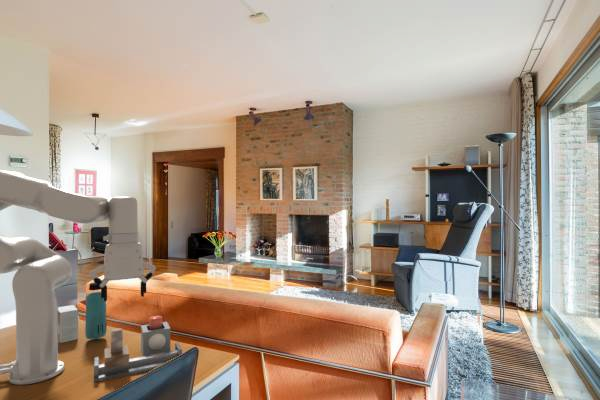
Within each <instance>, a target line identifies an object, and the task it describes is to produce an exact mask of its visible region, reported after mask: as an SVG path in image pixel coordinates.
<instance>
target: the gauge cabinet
mask: <svg viewBox="0 0 600 400" xmlns="http://www.w3.org/2000/svg"><path fill="white" fill-rule="evenodd" d="M140 351H141V357H142V356H148V355H153V354H158V353H163V352H168V351H171V327H170V324H169V323H168V321H162V327H161V328H158V329H149V324H144V325H141V326H140Z"/></svg>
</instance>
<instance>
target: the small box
mask: <svg viewBox="0 0 600 400" xmlns="http://www.w3.org/2000/svg"><path fill="white" fill-rule="evenodd" d="M78 339H79V309H78V308H77V306H76V305H74V304H70V305H65V306H58V344H62V343H66V342H71V341H75V340H78Z"/></svg>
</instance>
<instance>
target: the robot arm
mask: <svg viewBox="0 0 600 400" xmlns="http://www.w3.org/2000/svg"><path fill="white" fill-rule="evenodd" d="M11 206H17V207H20V208H21V207H22V208H25V209H29V210H33V211H36V212H39V213H41V214H44V215H46V216H48V217H52V218H53V217H54V218H56V219H60V220H65V221H69V222H73V223H77V224H95V223H100V222H101V223H102V222H107V221H108V234H107V235H103V236H102V240H103V242H105V241H106V242H108V244H106V245H105V249H104V260H103V264H102V265H100V266H98V267H96V268H94V269H93V270H91V271H89V273H88V274H89V276H90V277H91V279H92V280H93V283H94V282H95V283H96V284H98V285H99V286H100V287H101V289H100V291H101V298H104V301H106V302H107V301H108V285H107V284H108V283H109V282H110V281H119V280H129V279H131V280H132V279H139V280H140V297H142V298H143V297H145V294H146V293H147V282H148V281H149V280H150V279H151V278H152V277H153V275H154V273H155V271H156V269H157V267H156V265H154V264H151V263H148V262H146V261H144V255H143V249H142V244H141V242H139V241H138V239H139V238H138V235H139V234H138V230H139V229H138V227H139V226H138V200H137V198H136V197H133V196H113V197H108V196H102V195H101V196H100V195H99V196H98V195H84V194H78V193H74V192H72V191H66V190H63V189H59V188H57V187H54V186H53V183H51V182H49V181H46V180H43V179H38V178H34V177H29V176H27V175H26V174H24V173H21V172H19V171H10V170H4V169H0V212H1V211H3V210H4V209H7V208H9V207H11ZM144 268H146V269H149V271H148V273H146V274H145V275H144ZM102 271H103V277H104V278H103V279H101V278H99V277H98V275H97V274H99V273H101V272H102ZM11 272H15V274H14V275H13V277H12V280H11V281H12V283H11V285H12V293H13V296H14V302H15V323H16V324H15V325H16V326H15V360H13V361H11V362H10V363H6V364H5V363H3V364H0V375H5V374H8V382H9V383H10V384H13V385H30V384H31V385H32V384H37V383H40V382H43V381H46V380H49V379H51V378H54V377H56V376H57V375H59V374H61V373H62V372H63V371H64V369H65V363H64V361H62V360H60V359H59V341H58V307H59V306H58V300H57V296H56V293H55V290H56V289H58V288H60V287H61V286H64V285H65V284H67V283H68V282H69V281H70V279H71V278H72V276H73V268H72V265H71V263H70V262H69V260H67V259H66V258H65V257H64V256H62V255H61V254H59V253H57V252H56V251H54V250H53V249H52V248H51V247H50V248H49V247H48V246H46V245H45V244H43V243H42V242H40V241H38V240H37V239H34V238H32V237H28V236H15V237H6V236H4V235H3V234H0V274H1V275H2V274H8V273H11Z"/></svg>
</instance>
